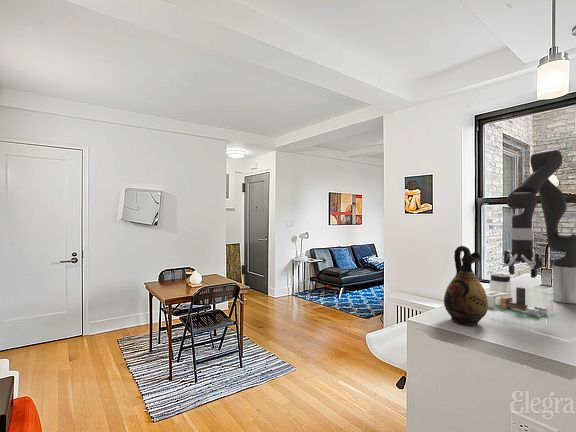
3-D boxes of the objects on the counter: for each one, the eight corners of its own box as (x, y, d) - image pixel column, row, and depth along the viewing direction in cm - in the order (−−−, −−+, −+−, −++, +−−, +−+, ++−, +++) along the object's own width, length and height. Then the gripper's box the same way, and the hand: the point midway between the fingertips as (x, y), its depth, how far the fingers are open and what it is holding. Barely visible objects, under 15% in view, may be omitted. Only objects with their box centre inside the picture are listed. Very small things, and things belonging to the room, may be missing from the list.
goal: (495, 301, 157) (495, 290, 157) (509, 305, 151) (509, 293, 151) (479, 304, 152) (479, 292, 152) (493, 308, 146) (493, 295, 146)
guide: (536, 313, 138) (536, 306, 138) (546, 315, 135) (546, 308, 135) (526, 315, 136) (526, 308, 136) (537, 317, 132) (537, 310, 132)
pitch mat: (497, 302, 158) (497, 300, 158) (557, 316, 135) (557, 315, 135) (475, 305, 151) (475, 304, 151) (534, 321, 129) (534, 320, 129)
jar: (505, 302, 158) (505, 277, 158) (487, 298, 165) (487, 275, 165) (513, 299, 163) (513, 275, 163) (495, 296, 170) (495, 273, 170)
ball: (507, 299, 148) (505, 307, 149) (498, 295, 151) (497, 303, 152) (501, 300, 146) (500, 308, 147) (493, 296, 150) (491, 304, 150)
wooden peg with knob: (507, 306, 148) (507, 284, 148) (529, 311, 140) (529, 288, 140) (500, 307, 146) (500, 285, 146) (522, 312, 138) (522, 289, 138)
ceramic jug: (498, 327, 122) (498, 248, 122) (461, 330, 120) (461, 249, 120) (466, 314, 139) (466, 244, 139) (433, 316, 136) (433, 244, 136)
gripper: (545, 239, 135) (546, 278, 135) (510, 237, 148) (510, 272, 148) (535, 240, 132) (535, 279, 132) (499, 237, 145) (500, 274, 145)
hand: (522, 275), depth 140 cm, fingers open, 8 cm apart
